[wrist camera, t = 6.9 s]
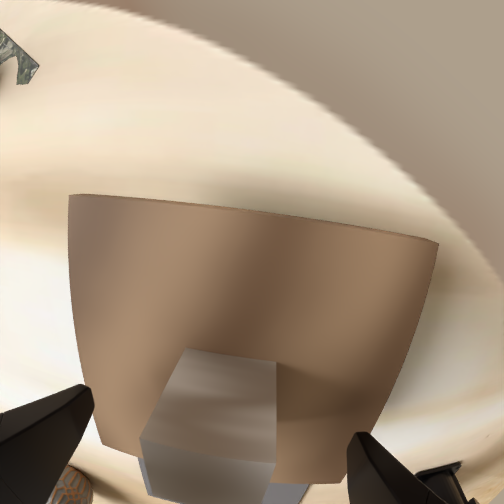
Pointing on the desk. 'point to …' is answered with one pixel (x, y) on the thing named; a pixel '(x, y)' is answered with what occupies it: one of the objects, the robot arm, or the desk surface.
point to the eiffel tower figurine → (5, 48)
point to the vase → (72, 488)
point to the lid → (238, 338)
